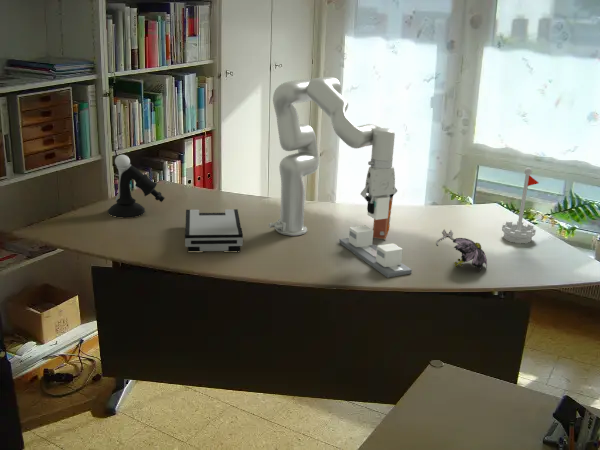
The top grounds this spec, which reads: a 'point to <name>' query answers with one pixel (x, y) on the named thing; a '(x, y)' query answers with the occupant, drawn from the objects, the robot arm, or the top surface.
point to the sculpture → (126, 202)
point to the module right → (389, 255)
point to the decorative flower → (470, 252)
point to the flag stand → (520, 231)
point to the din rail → (373, 253)
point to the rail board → (374, 260)
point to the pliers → (446, 236)
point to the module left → (360, 236)
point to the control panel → (382, 225)
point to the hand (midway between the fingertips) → (377, 211)
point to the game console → (213, 231)
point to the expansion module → (380, 207)
